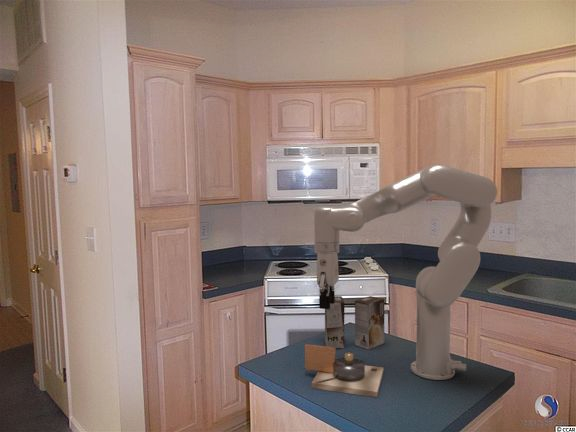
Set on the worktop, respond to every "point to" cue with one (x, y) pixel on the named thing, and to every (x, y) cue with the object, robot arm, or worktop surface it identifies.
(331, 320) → the coffee box
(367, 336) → the coffee box
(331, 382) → the dial board
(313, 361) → the cam dial
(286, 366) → the worktop surface
